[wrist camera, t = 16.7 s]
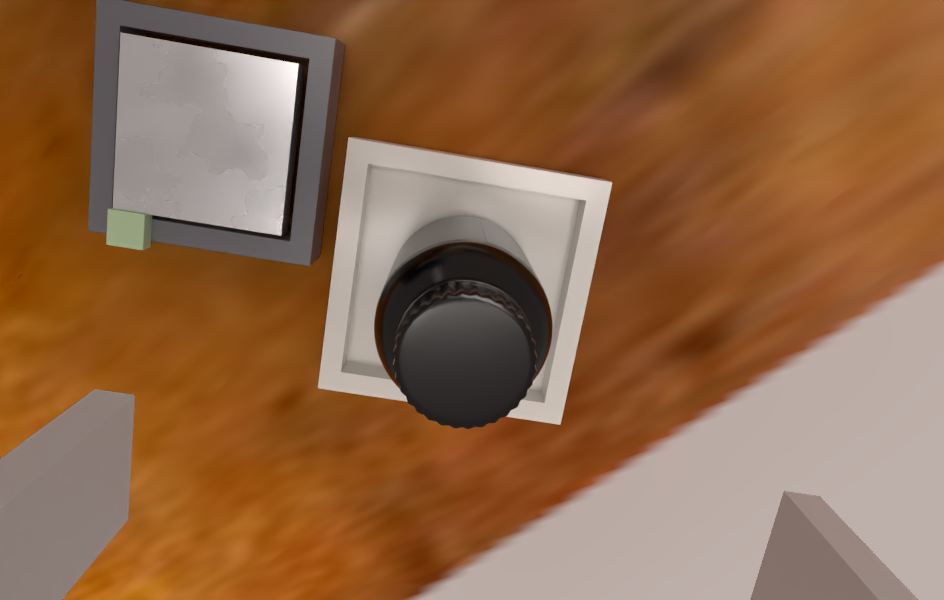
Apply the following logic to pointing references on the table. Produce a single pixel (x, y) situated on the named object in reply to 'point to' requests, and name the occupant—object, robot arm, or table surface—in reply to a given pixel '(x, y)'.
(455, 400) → the supplement bottle
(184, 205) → the grey square tile
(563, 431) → the table surface
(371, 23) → the table surface
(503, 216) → the dish
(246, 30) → the grey square framed panel
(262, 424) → the table surface
